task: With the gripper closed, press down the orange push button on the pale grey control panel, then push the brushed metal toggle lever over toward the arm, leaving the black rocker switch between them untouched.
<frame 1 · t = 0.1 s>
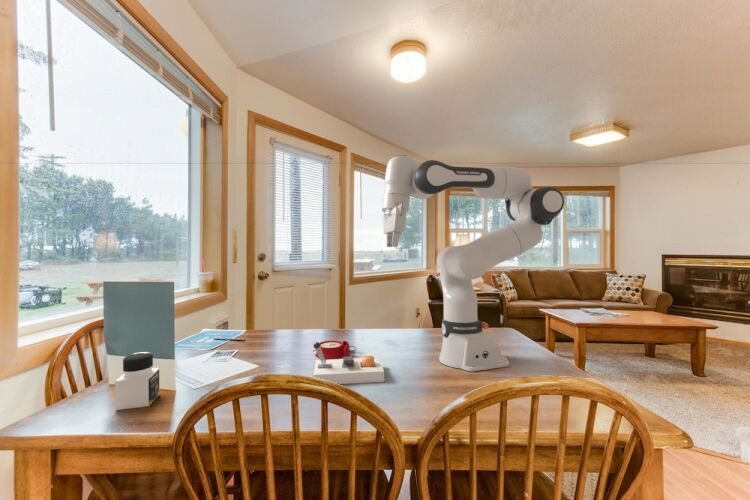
hand: (391, 246, 106), 39 cm above the table, tool pointing down, fingers open, 8 cm apart
rocker: (348, 360, 97), point 5 cm above the table, hinge at 10.0°
lever: (319, 352, 96), point 7 cm above the table, hinge at 22.0°
medicine bottle: (138, 402, 81), on the table
alarm clock: (335, 355, 117), on the table
button: (368, 363, 98), point 3 cm above the table, slide at 0.0 cm
panel: (348, 375, 97), on the table
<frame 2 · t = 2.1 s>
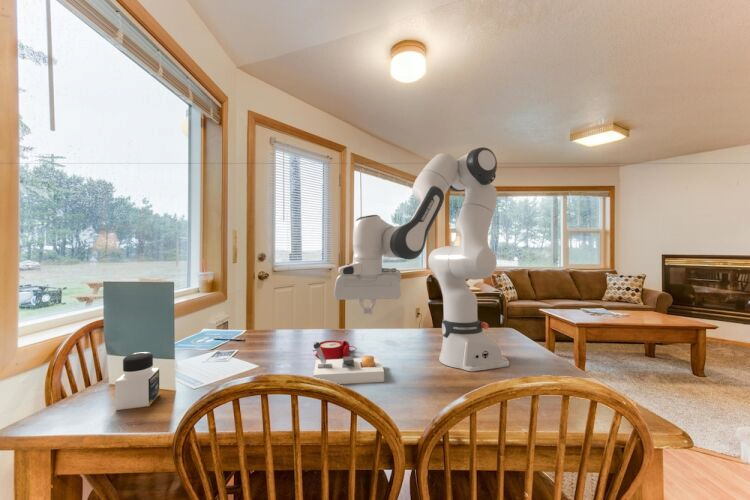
hand: (367, 313, 98), 18 cm above the table, tool pointing down, fingers closed
nothing on the table moved.
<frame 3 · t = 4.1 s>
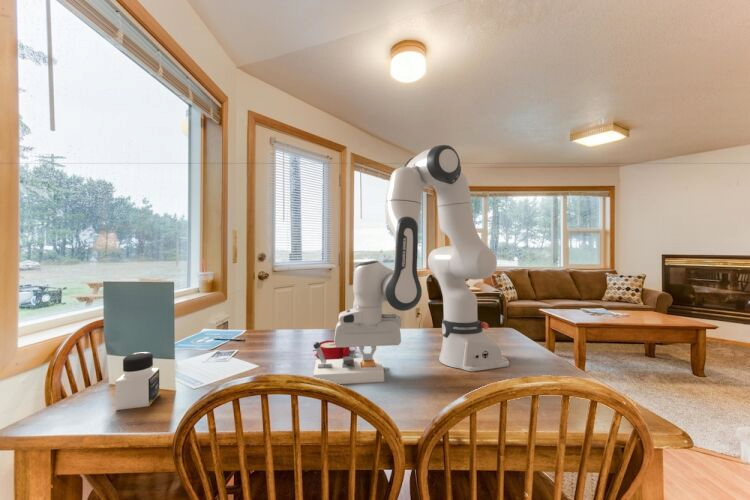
hand: (367, 360, 98), 4 cm above the table, tool pointing down, fingers closed, pressing on button
button: (368, 366, 98), point 3 cm above the table, slide at 0.8 cm, touching gripper
everything else where it was.
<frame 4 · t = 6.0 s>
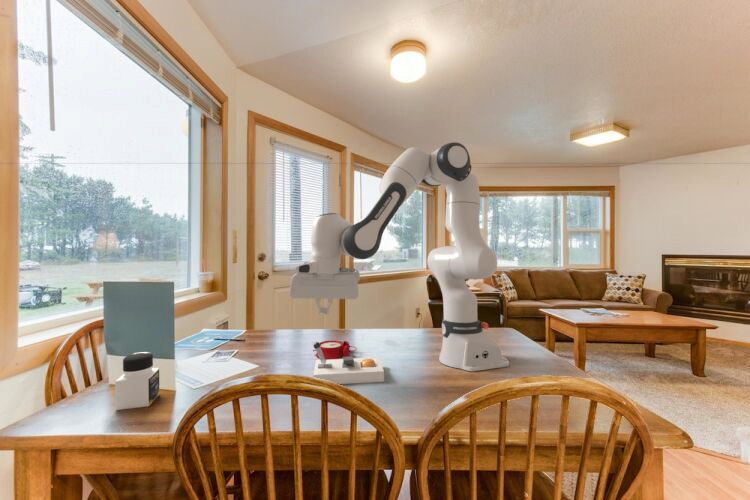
hand: (323, 313, 96), 19 cm above the table, tool pointing down, fingers closed
button: (368, 366, 98), point 2 cm above the table, slide at 1.0 cm
everything else where it was.
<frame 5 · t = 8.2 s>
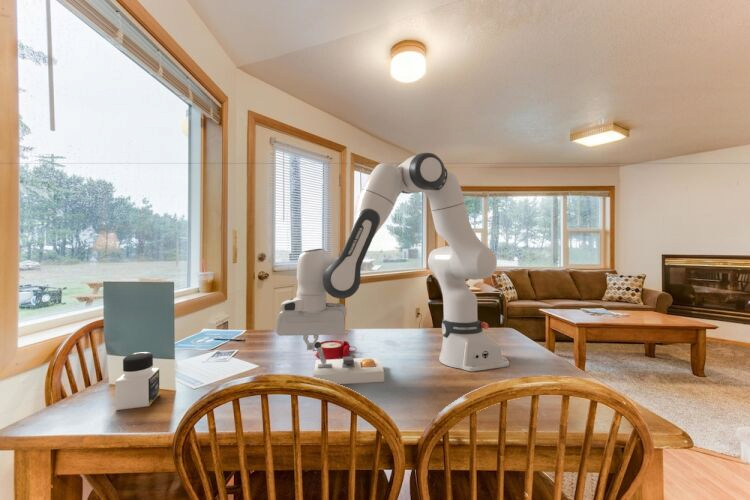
hand: (311, 349, 96), 8 cm above the table, tool pointing down, fingers closed
lever: (320, 352, 96), point 7 cm above the table, hinge at 18.8°, touching gripper
everything else where it was.
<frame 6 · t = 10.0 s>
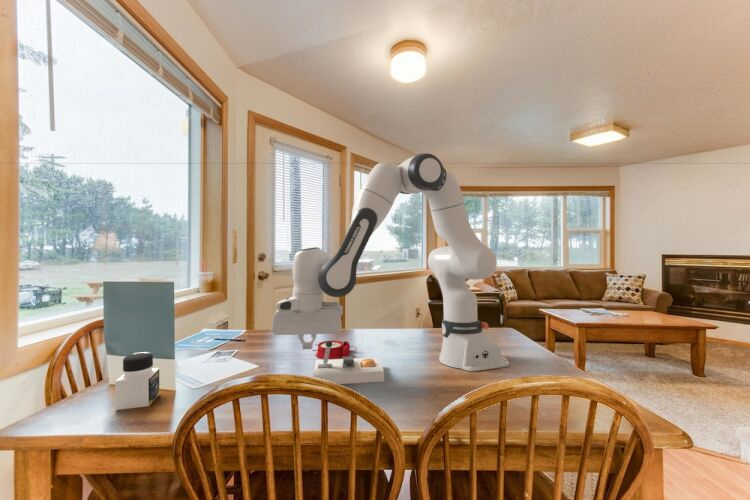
hand: (307, 348, 96), 9 cm above the table, tool pointing down, fingers closed
lever: (327, 351, 96), point 7 cm above the table, hinge at -11.8°
everything else where it was.
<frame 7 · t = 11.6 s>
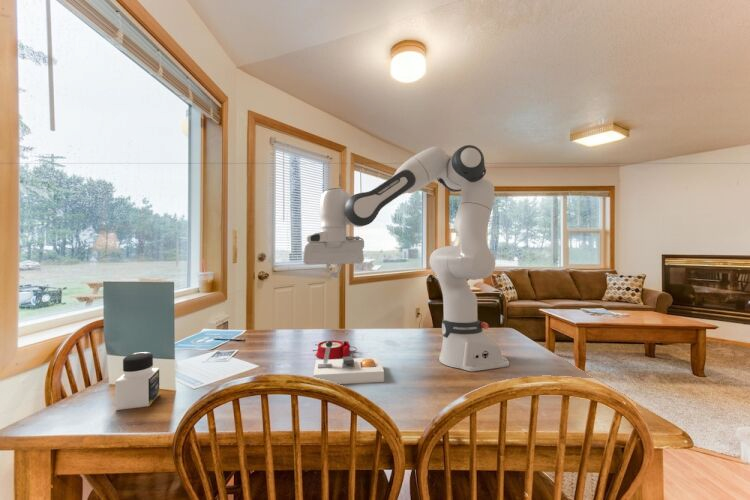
hand: (334, 277, 109), 29 cm above the table, tool pointing down, fingers closed
nothing on the table moved.
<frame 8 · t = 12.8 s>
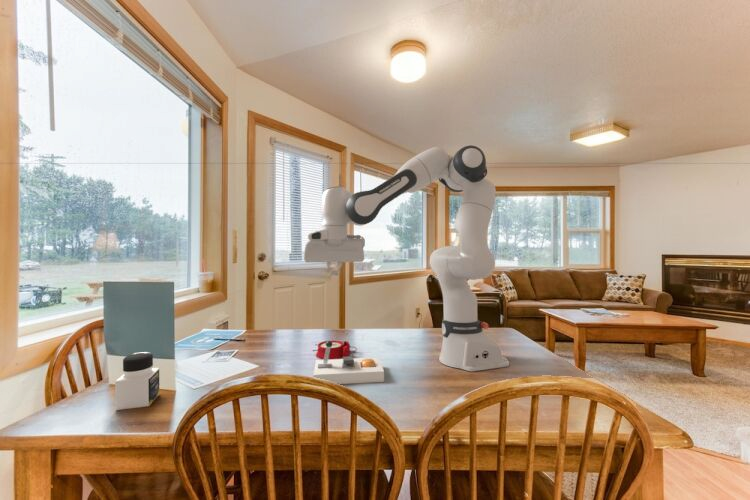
hand: (334, 275, 110), 29 cm above the table, tool pointing down, fingers closed
nothing on the table moved.
at the end: button slide at 1.0 cm; lever at -12° (first picture: +22°); rocker at +10° (first picture: +10°) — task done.
